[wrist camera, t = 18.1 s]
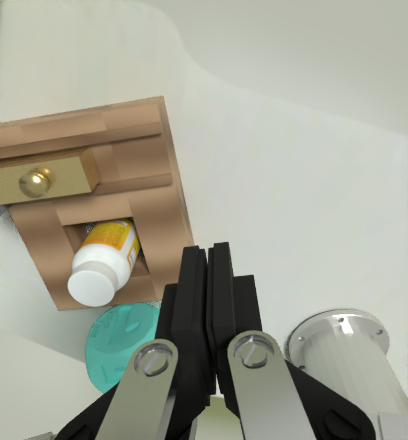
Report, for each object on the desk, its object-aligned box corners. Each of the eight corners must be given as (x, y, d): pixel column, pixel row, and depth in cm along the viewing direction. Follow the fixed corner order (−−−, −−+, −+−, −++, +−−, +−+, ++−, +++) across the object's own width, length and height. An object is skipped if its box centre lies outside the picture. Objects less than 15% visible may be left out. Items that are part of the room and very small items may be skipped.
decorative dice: (160, 297, 41) (148, 350, 34) (175, 341, 45) (168, 397, 38) (99, 305, 42) (76, 359, 35) (119, 347, 46) (102, 404, 39)
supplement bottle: (153, 238, 37) (135, 297, 28) (117, 259, 38) (90, 321, 30) (122, 201, 35) (92, 254, 26) (85, 225, 36) (46, 282, 28)
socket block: (200, 273, 39) (197, 315, 33) (71, 287, 40) (47, 330, 34) (163, 95, 29) (149, 110, 23) (-3, 123, 31) (-55, 144, 25)
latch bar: (100, 180, 29) (87, 197, 26) (16, 192, 30) (-7, 210, 27) (89, 147, 27) (73, 160, 24) (1, 160, 28) (-25, 175, 25)
